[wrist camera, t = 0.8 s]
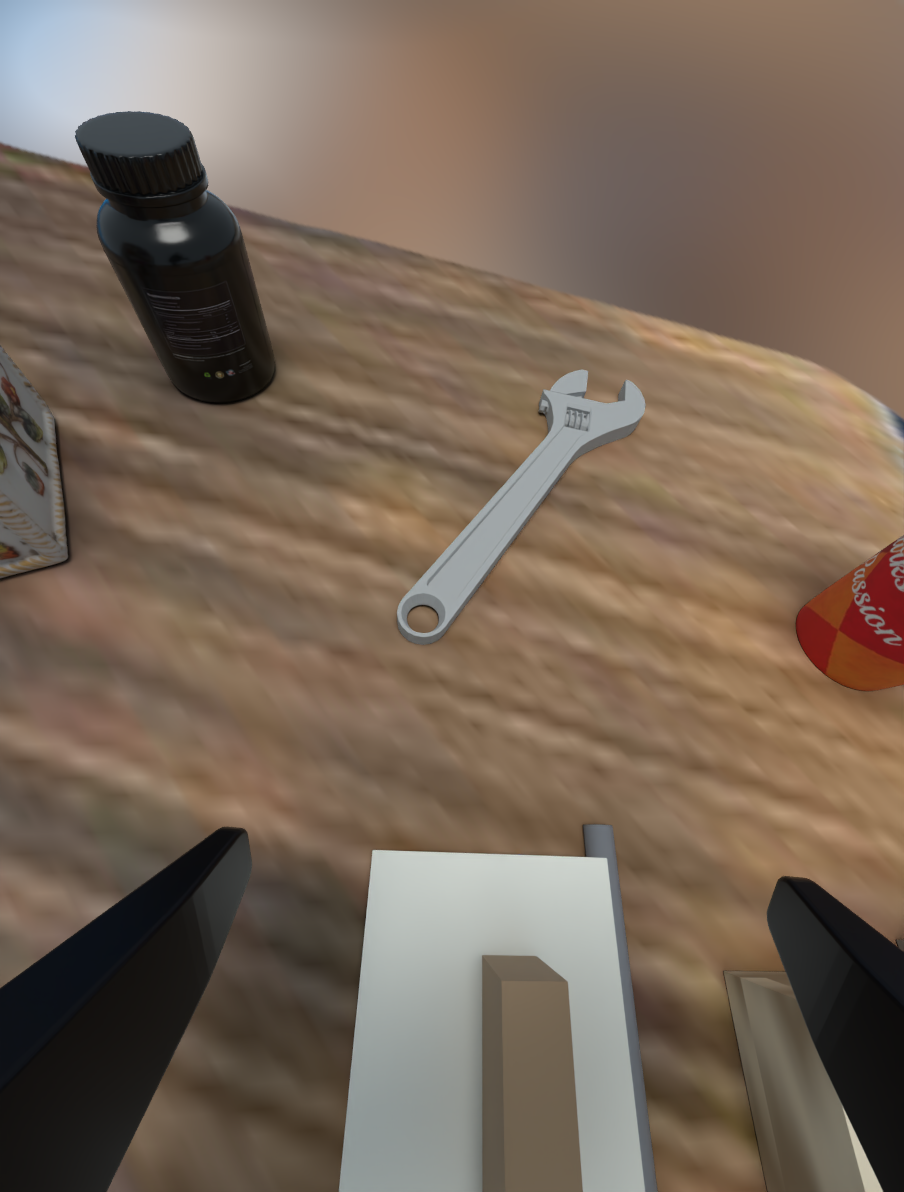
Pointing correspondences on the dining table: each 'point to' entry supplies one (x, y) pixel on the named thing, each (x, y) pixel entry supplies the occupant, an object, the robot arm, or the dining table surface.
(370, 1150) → the cabinet door
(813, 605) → the paper cup
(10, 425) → the decorative jar
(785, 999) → the cabinet
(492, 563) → the adjustable wrench
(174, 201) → the supplement bottle
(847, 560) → the dining table surface
